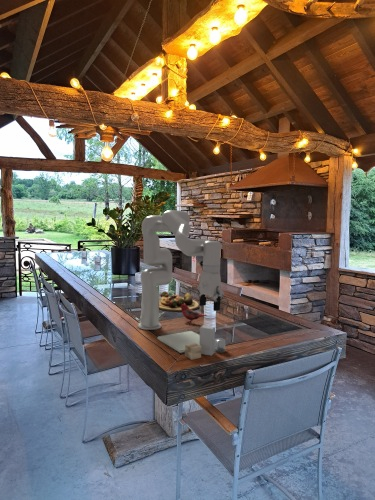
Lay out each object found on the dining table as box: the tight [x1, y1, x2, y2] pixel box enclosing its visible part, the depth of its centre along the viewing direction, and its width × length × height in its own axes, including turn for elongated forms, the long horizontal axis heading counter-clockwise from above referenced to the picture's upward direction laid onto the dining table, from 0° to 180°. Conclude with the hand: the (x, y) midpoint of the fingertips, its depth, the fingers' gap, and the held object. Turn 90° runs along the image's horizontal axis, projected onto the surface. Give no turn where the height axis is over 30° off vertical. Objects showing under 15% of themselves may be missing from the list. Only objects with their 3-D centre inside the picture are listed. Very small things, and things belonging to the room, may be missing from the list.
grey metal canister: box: [214, 337, 227, 354], centre depth 163 cm, size 5×5×5 cm
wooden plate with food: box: [159, 290, 200, 313], centre depth 241 cm, size 32×32×8 cm
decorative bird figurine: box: [181, 304, 208, 324], centre depth 203 cm, size 3×18×10 cm, turn 59°
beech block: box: [184, 343, 202, 361], centre depth 154 cm, size 5×5×5 cm
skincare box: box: [199, 324, 216, 357], centre depth 158 cm, size 6×4×12 cm
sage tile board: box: [157, 330, 200, 354], centre depth 172 cm, size 20×20×1 cm
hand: (209, 307), depth 156 cm, fingers open, 9 cm apart
